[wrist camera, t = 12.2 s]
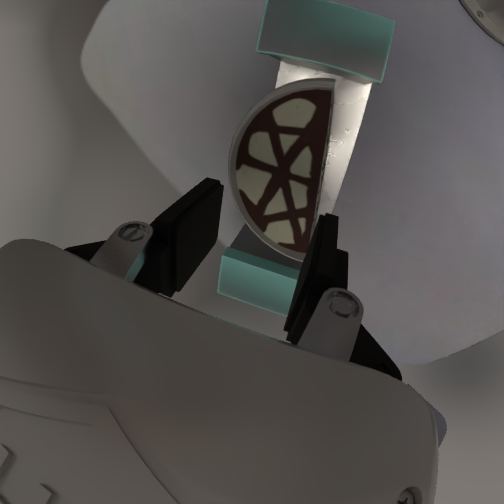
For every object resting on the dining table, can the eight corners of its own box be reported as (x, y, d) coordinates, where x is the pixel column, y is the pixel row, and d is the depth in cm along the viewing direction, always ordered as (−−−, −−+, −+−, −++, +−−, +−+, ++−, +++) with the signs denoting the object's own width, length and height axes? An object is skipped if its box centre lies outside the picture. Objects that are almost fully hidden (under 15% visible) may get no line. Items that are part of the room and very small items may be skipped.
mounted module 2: (376, 44, 16) (395, 21, 9) (366, 86, 18) (381, 83, 11) (293, 23, 17) (268, -8, 10) (284, 64, 19) (255, 51, 12)
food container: (266, 74, 20) (221, 68, 13) (336, 82, 19) (335, 76, 11) (258, 196, 28) (220, 250, 20) (318, 208, 26) (305, 269, 18)
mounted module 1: (322, 227, 27) (311, 285, 20) (310, 259, 30) (296, 319, 23) (255, 206, 28) (222, 255, 21) (248, 239, 31) (217, 292, 24)
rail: (377, 50, 17) (380, 47, 16) (315, 250, 31) (314, 260, 30) (292, 28, 19) (288, 23, 17) (250, 229, 32) (245, 237, 31)
